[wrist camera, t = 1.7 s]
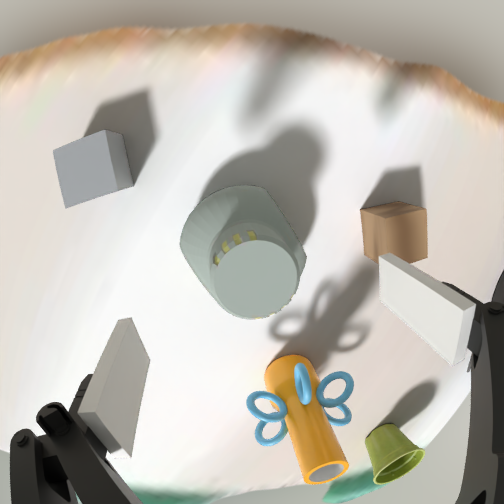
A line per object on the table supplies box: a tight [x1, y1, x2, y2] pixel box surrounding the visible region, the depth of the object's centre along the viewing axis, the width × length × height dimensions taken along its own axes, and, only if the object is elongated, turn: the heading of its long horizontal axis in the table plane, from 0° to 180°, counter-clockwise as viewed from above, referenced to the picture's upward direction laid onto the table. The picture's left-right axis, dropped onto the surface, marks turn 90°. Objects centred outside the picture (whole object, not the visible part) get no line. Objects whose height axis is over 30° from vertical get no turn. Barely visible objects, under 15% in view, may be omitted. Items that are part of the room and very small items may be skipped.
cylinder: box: [246, 355, 354, 484], centre depth 27 cm, size 12×10×15 cm
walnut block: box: [360, 201, 428, 264], centre depth 28 cm, size 5×5×5 cm
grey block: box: [53, 129, 134, 208], centre depth 22 cm, size 5×5×5 cm
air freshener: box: [180, 185, 307, 319], centre depth 24 cm, size 11×8×10 cm
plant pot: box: [365, 424, 425, 484], centre depth 37 cm, size 9×9×9 cm
